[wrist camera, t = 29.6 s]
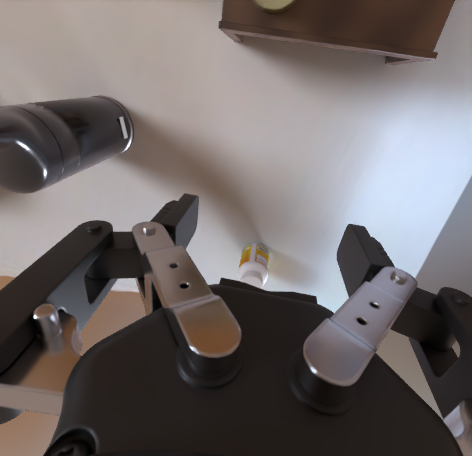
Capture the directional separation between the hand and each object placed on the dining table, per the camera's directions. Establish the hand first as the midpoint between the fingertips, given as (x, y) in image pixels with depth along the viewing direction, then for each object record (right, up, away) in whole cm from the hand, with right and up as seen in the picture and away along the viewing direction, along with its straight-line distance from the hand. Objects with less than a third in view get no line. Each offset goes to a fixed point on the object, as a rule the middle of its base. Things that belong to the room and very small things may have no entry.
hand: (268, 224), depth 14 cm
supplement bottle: (+2, -5, +40) cm, 40 cm away
